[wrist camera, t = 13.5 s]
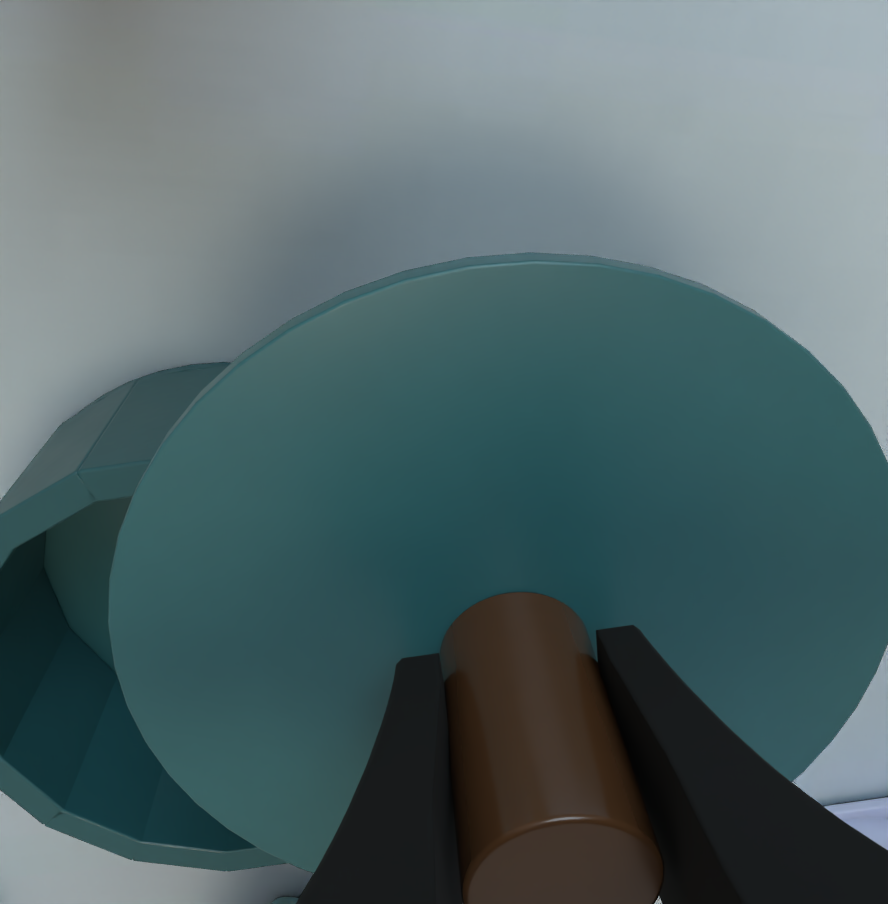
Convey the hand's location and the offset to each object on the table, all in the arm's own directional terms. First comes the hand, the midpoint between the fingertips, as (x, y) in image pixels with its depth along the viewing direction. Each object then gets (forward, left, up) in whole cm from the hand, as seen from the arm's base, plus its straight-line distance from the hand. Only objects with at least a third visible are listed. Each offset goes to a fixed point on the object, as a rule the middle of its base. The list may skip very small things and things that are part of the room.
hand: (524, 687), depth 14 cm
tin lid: (0, 0, -1) cm, 1 cm away
